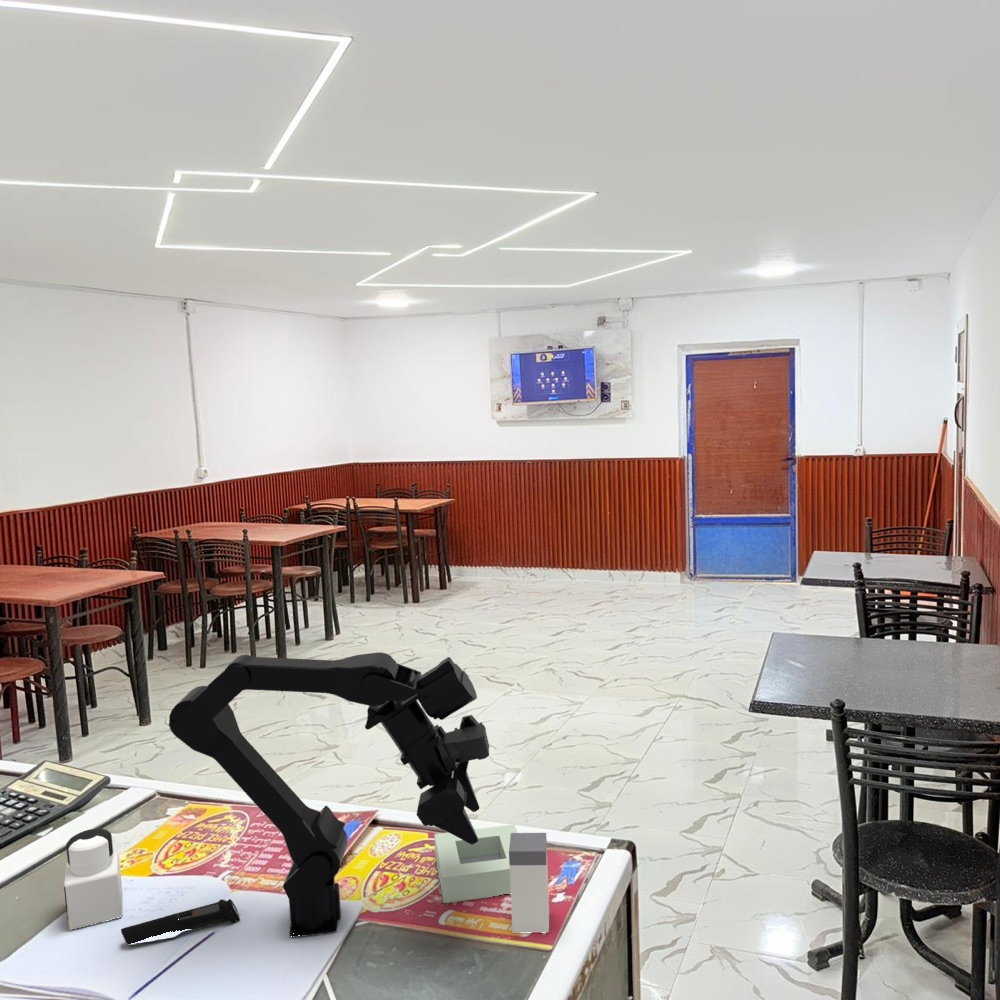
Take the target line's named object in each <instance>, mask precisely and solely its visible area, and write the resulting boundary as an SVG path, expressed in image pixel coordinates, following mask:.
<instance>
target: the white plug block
mask: <svg viewBox="0 0 1000 1000" xmlns="http://www.w3.org/2000/svg"><path fill="white" fill-rule="evenodd" d="M547 845H548V843H547V832H517V833H511V836H510V846H509V865H510V889H511V894H510V906H511V907H510V909H511V910H510V911H511V913H510V914H511V931H512V933H515V932H516V933H520V932H549V933H550V902H549V901H550V899H549V896H550V895H549V870H548V846H547ZM512 933H511V934H512Z"/></svg>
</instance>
